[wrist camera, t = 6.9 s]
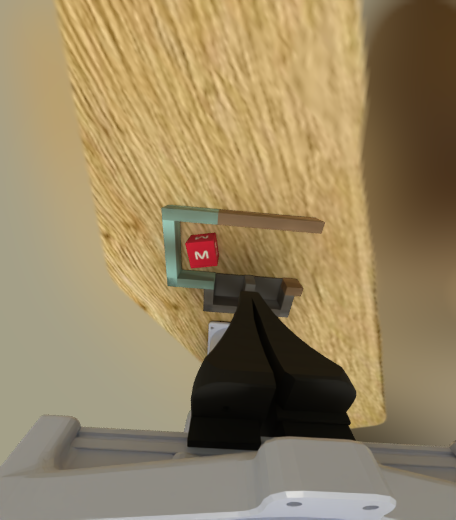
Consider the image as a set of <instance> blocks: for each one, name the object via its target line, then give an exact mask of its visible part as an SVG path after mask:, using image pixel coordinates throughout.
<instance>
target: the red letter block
mask: <svg viewBox="0 0 456 520" xmlns="http://www.w3.org/2000/svg"><path fill="white" fill-rule="evenodd" d="M185 245H186V249H187V253H188V258H189V262H190V266H191V268H200V267H210V266H217V264H218V257H219V253H218V246H217V239H216V233H207V234H198V235H191V236H190V238H189V239H188V240H187V242H186V243H185Z"/></svg>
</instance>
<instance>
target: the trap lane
mask: <svg viewBox="0 0 456 520" xmlns="http://www.w3.org/2000/svg"><path fill="white" fill-rule="evenodd" d="M162 221H163V233H164V246H165V258H166V271H167V284H168V286H174V287H187V288H199V289H204V307H203V311H208V312H221V313H235V312H236V309H237V306H238V300H239V293H240V291H253V292H259V294H260V295H261V297H262V298H263V299H264V301H265V302H266V304H267V305H268V306H269V307H270V309H271V310H272V311H273V312H274V314H275V315H276V316H277V317H288V315H289V312H290V309H291V305H292V302H293V299H294V296H301V294H302V291H303V287H302V286H301V284H300V283H299V281H298V280H297V279H290V278H270V277H257V276H253V275H232V274H220V273H215V272H203V271H191V270H182V265H181V237H180V221H182V222H193V223H205V224H216V225H228V226H239V227H251V228H262V229H274V230H285V231H297V232H308V233H320V234H321V233H322V230H323V227H324V224H325V222H323V221H321V220H319V219H317V218H311V217H300V216H288V215H277V214H266V213H255V212H244V211H232V210H221V209H210V208H199V207H188V206H177V205H167V206H165V207H162Z"/></svg>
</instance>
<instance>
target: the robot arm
mask: <svg viewBox="0 0 456 520" xmlns="http://www.w3.org/2000/svg"><path fill="white" fill-rule="evenodd" d="M355 398H356V390H355V388H354V386H353V385H352V383H351V381H350V379H349V378H348V376H347V374H346V373H345V371H344V370H343V368H342V367H340V366H339V365H337V364H336V363H334V362H332V361H331V360H329V359H328V358H326V357H324V356H323V355H321V354H320V353H318V352H317V351H316V350H314V349H313V348H311V347H310V346H309V345H307V344H306V343H305V342H303V341H302V340H301V339H300V338H299V337H297V336H296V335H295V334H294V333H293V332H292V331H291V330H290V329H288V328H287V327H286V326H285V325H284V324H283V323H282V322H281V321H280V319H279V318H278V317H277V316H276V315H275V314H274V312H273V311H272V310H271V309H270V307H269V306H268V305H267V304H266V302H265V301H264V299H263V298H262V297H261V295H260V294H259V292H253V291H240V293H239V300H238V306H237V309H236V312H235V314H234V317H233V319H232V321H231V323H227V322H213V321H212V322H210V323H209V333H208V353H207V356H206V357H205V359H204V361H203V363H202V365H201V367H200V369H199V371H198V373H197V376H196V378H195V381H194V385H193V390H192V396H191V410H190V411H189V413H188V416H187V420H186V424H185V429H184V432H168V431H150V430H131V429H114V428H95V427H81V426H80V422H79V421H78V420H77V419H76V418H74V417H72V416H62V415H42V416H41V417H40V418H39V419H38V420H37V421H36V423H35V424H34V425H33V427H32V428H31V429H30V430H29V432H28V433H27V434H26V435H25V437H24V438H23V439H22V440H21V441H20V443H19V444H18V445H17V446H16V448H15V449H14V450H13V451H12V453H11V454H10V455H9V456H8V458H7V459H6V460H5V462H4V463H3V464H2V465H1V466H0V520H456V441H454V442H452V443H451V444H450V445H449V447H442V446H424V445H423V446H422V445H407V444H406V445H405V444H388V443H370V442H358V441H356V440H355V438H354V436H353V434H352V432H351V430H350V428H349V426H348V425H350V424H351V422H350V419H349V417H348V415H347V413H346V412H347V410H348V409H349V408H350V406H351V405H352V403H353V402H354V400H355Z"/></svg>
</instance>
